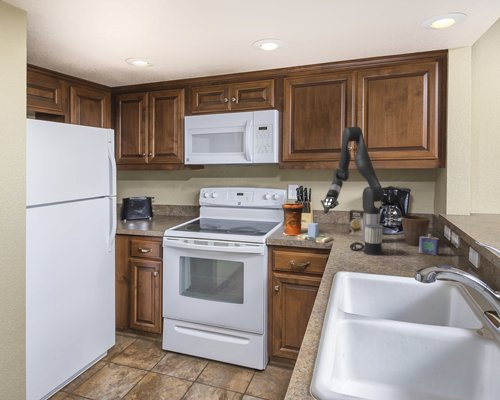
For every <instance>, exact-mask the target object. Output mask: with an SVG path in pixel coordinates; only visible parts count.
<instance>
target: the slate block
mask: <svg viewBox="0 0 500 400" xmlns="http://www.w3.org/2000/svg"><path fill="white" fill-rule="evenodd" d="M307 233H308V237H313V238H316V237H319V235H320V223H316V222H310V223H307Z"/></svg>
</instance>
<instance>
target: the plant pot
mask: <svg viewBox="0 0 500 400" xmlns="http://www.w3.org/2000/svg"><path fill="white" fill-rule="evenodd" d="M430 221H431V218H430V217H428V216H423V215H422V216H420V215H403V216H401V225H402V230H403V236H404V238H405V241H406V244H407V246H410V245H411V247H419V242H420V237H427V233H428V229H429V225H430Z"/></svg>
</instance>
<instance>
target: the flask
mask: <svg viewBox="0 0 500 400" xmlns="http://www.w3.org/2000/svg"><path fill="white" fill-rule="evenodd" d="M439 250H440V239H439V237H435V236H432V234H431V233H428V234H427V236H425V237H420V242H419V246H418V253H419V254H420V253H422V254H421V255H426V254H431V255H430V256H433V255H438V256H439Z"/></svg>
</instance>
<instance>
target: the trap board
mask: <svg viewBox="0 0 500 400" xmlns="http://www.w3.org/2000/svg"><path fill="white" fill-rule="evenodd" d="M297 240H302V241H310V242H316V243H321V244H325V243H328V242H331V241H333V240H334V237H333V236H332V235H330V236H328V237H325V235H324V234H319V237H316V238H313V237H308V232H305V233H302V234H301V235H297Z"/></svg>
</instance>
